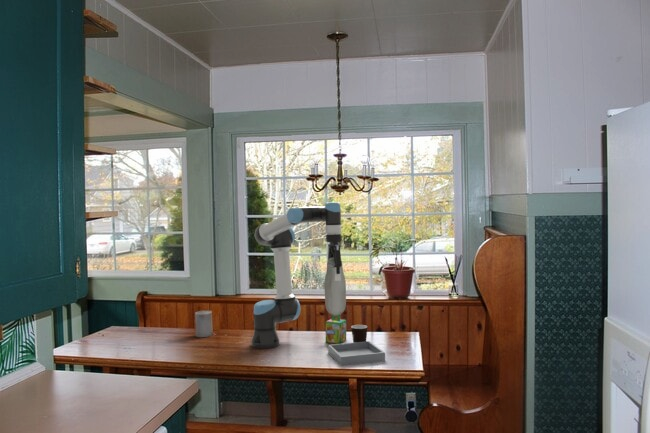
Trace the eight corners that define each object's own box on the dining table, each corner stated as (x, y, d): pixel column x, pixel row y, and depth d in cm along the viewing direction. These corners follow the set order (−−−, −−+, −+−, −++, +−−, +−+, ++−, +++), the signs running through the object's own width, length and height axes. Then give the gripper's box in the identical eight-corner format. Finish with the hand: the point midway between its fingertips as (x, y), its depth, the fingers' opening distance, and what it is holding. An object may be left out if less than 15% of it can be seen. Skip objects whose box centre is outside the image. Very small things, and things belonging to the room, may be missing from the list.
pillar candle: (205, 332, 315) (204, 307, 315) (216, 334, 310) (215, 309, 309) (192, 336, 308) (191, 310, 307) (203, 338, 302) (202, 312, 301)
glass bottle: (342, 317, 252) (340, 258, 251) (322, 316, 255) (320, 258, 255) (349, 312, 261) (347, 256, 260) (329, 312, 264) (327, 256, 264)
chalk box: (325, 342, 286) (324, 315, 286) (331, 338, 295) (330, 312, 294) (341, 344, 283) (340, 316, 283) (347, 340, 291) (346, 313, 291)
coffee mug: (366, 348, 274) (366, 328, 274) (350, 347, 276) (350, 328, 276) (369, 342, 286) (369, 323, 285) (353, 341, 287) (353, 323, 287)
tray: (328, 352, 267) (328, 345, 267) (369, 348, 273) (369, 341, 273) (341, 365, 246) (340, 357, 246) (385, 360, 251) (385, 352, 251)
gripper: (347, 234, 247) (348, 281, 248) (335, 232, 269) (336, 276, 270) (331, 235, 246) (333, 282, 246) (320, 233, 268) (322, 277, 268)
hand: (335, 279), depth 258 cm, fingers closed on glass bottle, 10 cm apart
